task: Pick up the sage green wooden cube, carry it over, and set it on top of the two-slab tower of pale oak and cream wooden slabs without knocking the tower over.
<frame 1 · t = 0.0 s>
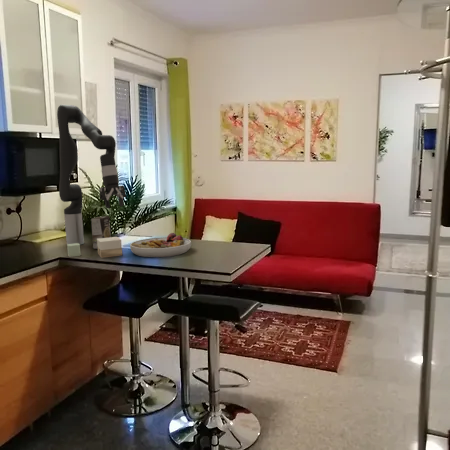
hand: (115, 207, 234), 22 cm above the countertop, tool pointing down, fingers open, 8 cm apart
tower base: (110, 255, 228), on the countertop, touching tower top
sage cube: (74, 255, 229), on the countertop
bowl: (161, 252, 231), on the countertop
tower top: (109, 247, 227), point 4 cm above the countertop, touching tower base
coffee box: (102, 247, 248), on the countertop
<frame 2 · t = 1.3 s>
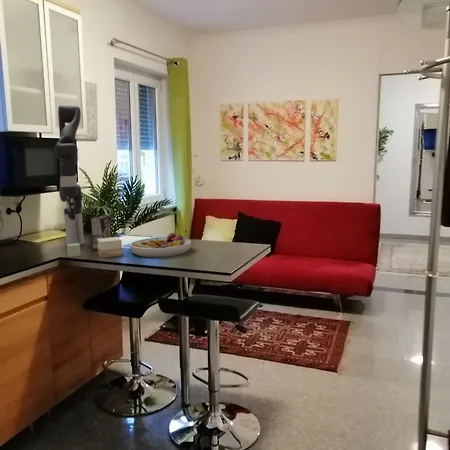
hand: (71, 218, 226), 18 cm above the countertop, tool pointing down, fingers open, 8 cm apart
nothing on the countertop moved.
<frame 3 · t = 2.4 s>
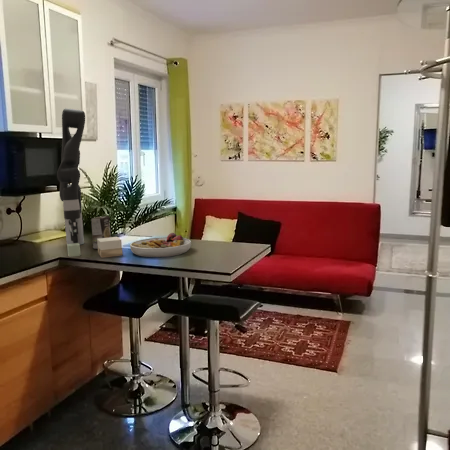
hand: (74, 241, 228), 7 cm above the countertop, tool pointing down, fingers open, 8 cm apart
nothing on the countertop moved.
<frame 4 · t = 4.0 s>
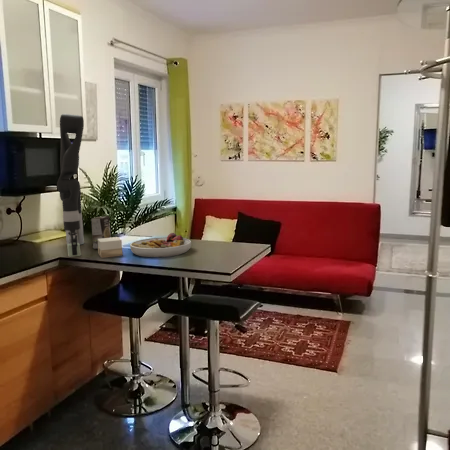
hand: (74, 253, 229), 1 cm above the countertop, tool pointing down, fingers closed on sage cube, 5 cm apart
sage cube: (74, 255, 229), on the countertop, touching gripper
everything else where it was.
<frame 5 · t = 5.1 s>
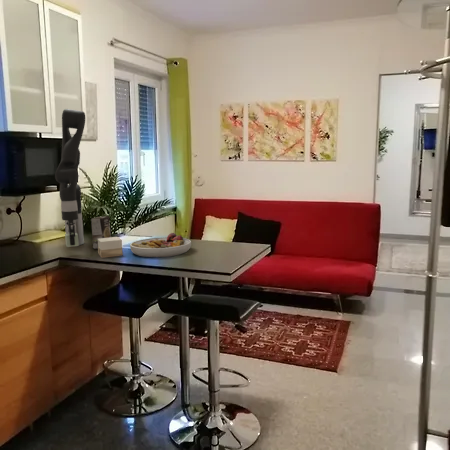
hand: (72, 243, 228), 6 cm above the countertop, tool pointing down, fingers closed on sage cube, 5 cm apart
tower base: (110, 255, 228), on the countertop
sage cube: (72, 245, 228), point 5 cm above the countertop, touching gripper
tower top: (110, 247, 228), point 4 cm above the countertop
everything else where it was.
when the fingers open (10 cm above the countertop, at t = 10.7 s): sage cube drops 2 cm, point 8 cm above the countertop.
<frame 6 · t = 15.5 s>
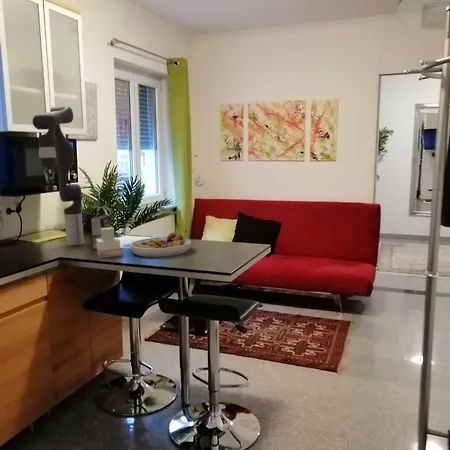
hand: (50, 190, 225), 32 cm above the countertop, tool pointing down, fingers open, 8 cm apart
tower base: (109, 255, 227), on the countertop, touching tower top
sage cube: (108, 239, 226), point 8 cm above the countertop
tower top: (108, 247, 226), point 4 cm above the countertop, touching tower base
everything else where it was.
at the end: sage cube 0.2 cm off-centre on the tower top, point 4.0 cm above the tower top's base; sage cube tilted 0°; tower top 0.2 cm from the tower base (horizontally) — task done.
